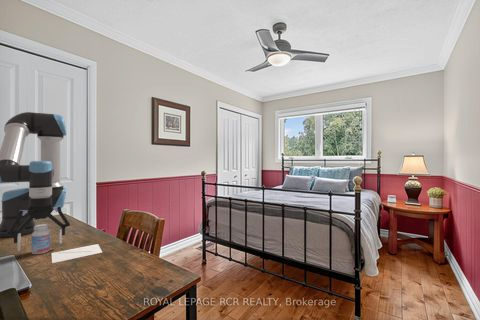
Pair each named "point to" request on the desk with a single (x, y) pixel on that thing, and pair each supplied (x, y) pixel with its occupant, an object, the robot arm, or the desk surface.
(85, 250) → the paper
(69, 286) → the desk surface
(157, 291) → the desk surface
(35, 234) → the pill bottle
